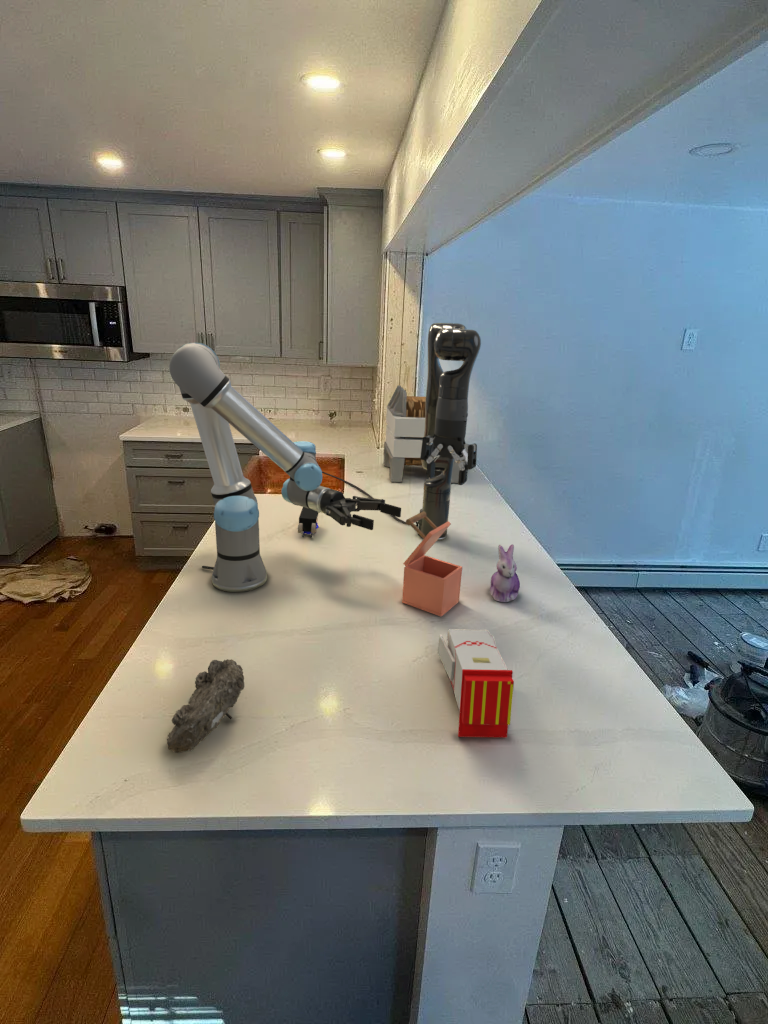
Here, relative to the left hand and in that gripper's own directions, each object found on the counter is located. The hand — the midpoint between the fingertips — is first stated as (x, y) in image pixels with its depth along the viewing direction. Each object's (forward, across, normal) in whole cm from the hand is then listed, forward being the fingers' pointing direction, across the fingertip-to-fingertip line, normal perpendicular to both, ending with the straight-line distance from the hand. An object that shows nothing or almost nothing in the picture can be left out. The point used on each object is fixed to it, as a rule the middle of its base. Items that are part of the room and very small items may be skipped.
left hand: (387, 518), depth 155 cm
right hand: (+17, 0, +15) cm, 22 cm away
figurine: (+30, -17, -20) cm, 40 cm away
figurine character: (-43, -17, -21) cm, 51 cm away
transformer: (-52, -109, -19) cm, 122 cm away
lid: (+13, 0, -4) cm, 14 cm away
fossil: (+5, +65, -22) cm, 69 cm away
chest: (+16, 0, -20) cm, 26 cm away
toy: (+41, +28, -20) cm, 54 cm away
